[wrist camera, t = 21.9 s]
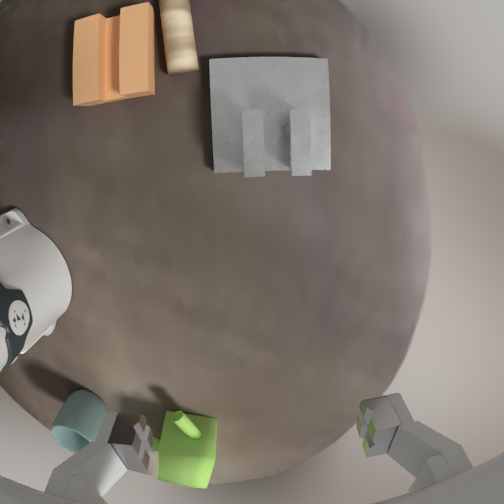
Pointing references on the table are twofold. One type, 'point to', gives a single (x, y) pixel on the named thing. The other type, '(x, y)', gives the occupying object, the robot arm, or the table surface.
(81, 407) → the cup
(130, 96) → the orange grooved block
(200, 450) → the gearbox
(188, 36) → the axle
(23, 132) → the table surface
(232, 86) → the block
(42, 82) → the table surface
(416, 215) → the table surface
